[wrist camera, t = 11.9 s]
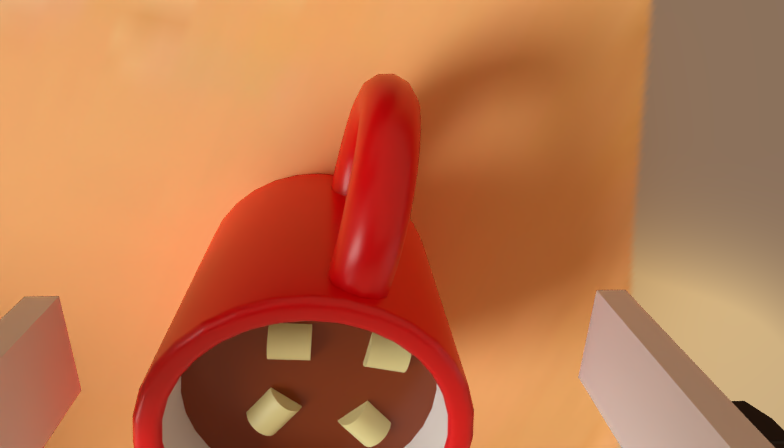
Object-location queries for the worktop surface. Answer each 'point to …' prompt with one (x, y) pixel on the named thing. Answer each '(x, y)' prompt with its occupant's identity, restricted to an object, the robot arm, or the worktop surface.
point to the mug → (316, 312)
